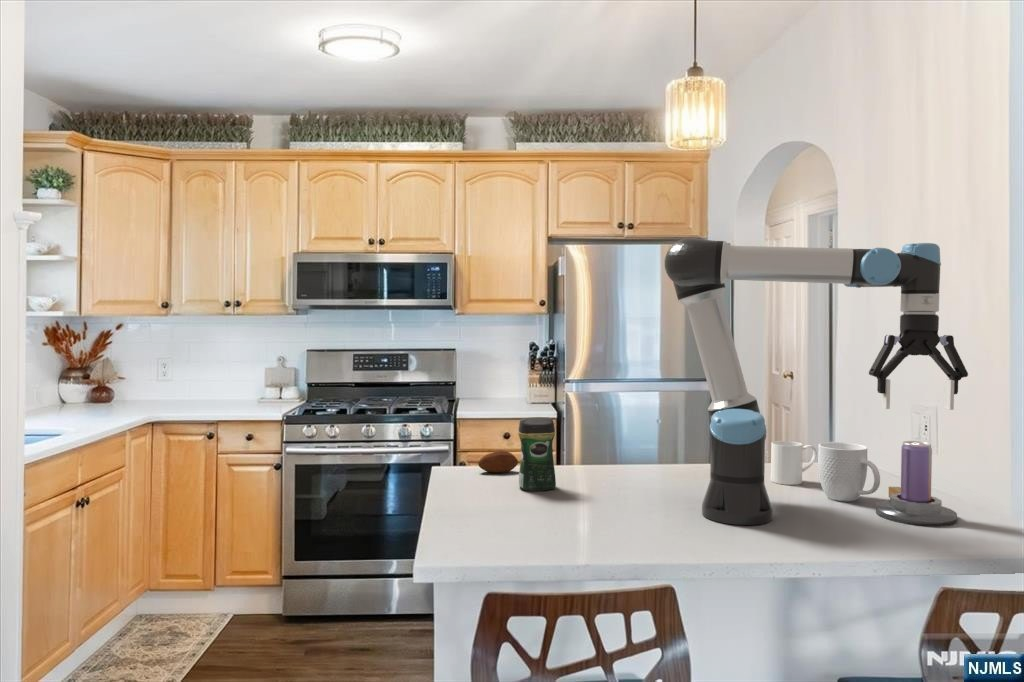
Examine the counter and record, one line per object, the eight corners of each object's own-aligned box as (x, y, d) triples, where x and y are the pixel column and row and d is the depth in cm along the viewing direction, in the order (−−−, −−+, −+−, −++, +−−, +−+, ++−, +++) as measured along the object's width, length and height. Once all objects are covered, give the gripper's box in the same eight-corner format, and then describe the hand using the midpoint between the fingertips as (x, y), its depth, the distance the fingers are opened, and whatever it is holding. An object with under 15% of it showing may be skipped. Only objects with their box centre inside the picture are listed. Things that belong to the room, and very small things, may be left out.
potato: (476, 471, 211) (476, 449, 211) (515, 469, 213) (515, 447, 213) (479, 475, 205) (479, 452, 205) (519, 473, 208) (519, 451, 207)
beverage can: (918, 514, 160) (919, 446, 159) (894, 507, 165) (895, 441, 165) (936, 511, 162) (938, 444, 162) (912, 504, 168) (913, 440, 167)
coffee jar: (552, 483, 195) (552, 414, 194) (558, 491, 187) (558, 419, 186) (516, 485, 194) (516, 415, 193) (520, 492, 186) (520, 420, 185)
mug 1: (779, 485, 192) (779, 446, 192) (765, 478, 200) (766, 441, 200) (823, 484, 194) (823, 445, 193) (808, 477, 202) (808, 440, 201)
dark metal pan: (894, 525, 156) (894, 507, 156) (859, 502, 175) (859, 486, 175) (972, 527, 155) (972, 508, 155) (928, 503, 174) (928, 487, 174)
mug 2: (891, 503, 175) (892, 449, 174) (865, 510, 169) (866, 454, 168) (834, 490, 187) (835, 440, 187) (808, 496, 181) (808, 444, 180)
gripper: (868, 313, 159) (865, 410, 160) (987, 313, 157) (984, 411, 158) (854, 313, 167) (852, 405, 168) (968, 313, 165) (966, 407, 166)
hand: (916, 408), depth 163 cm, fingers open, 13 cm apart
